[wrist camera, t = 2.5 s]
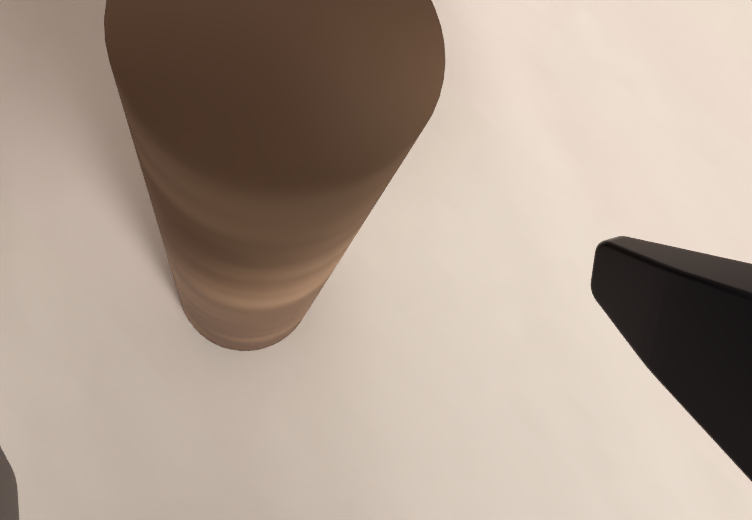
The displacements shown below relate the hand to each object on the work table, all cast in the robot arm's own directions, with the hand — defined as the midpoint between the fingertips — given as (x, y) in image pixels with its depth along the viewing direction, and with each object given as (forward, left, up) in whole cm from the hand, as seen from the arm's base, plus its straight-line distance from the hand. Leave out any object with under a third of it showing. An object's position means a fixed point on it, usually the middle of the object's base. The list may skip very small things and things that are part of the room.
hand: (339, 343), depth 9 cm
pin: (+3, -1, -11) cm, 11 cm away
